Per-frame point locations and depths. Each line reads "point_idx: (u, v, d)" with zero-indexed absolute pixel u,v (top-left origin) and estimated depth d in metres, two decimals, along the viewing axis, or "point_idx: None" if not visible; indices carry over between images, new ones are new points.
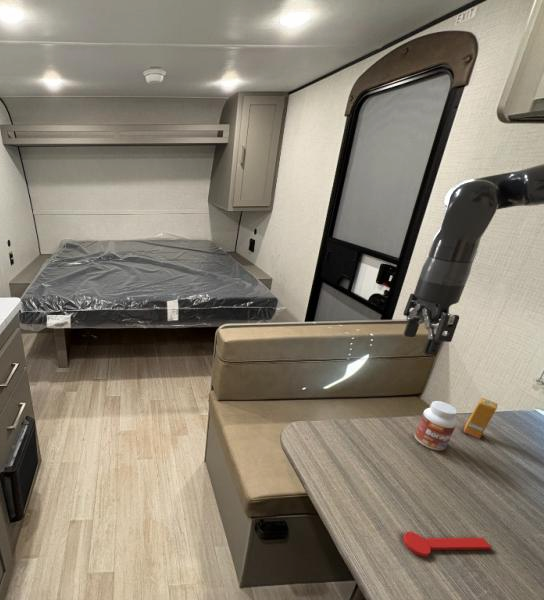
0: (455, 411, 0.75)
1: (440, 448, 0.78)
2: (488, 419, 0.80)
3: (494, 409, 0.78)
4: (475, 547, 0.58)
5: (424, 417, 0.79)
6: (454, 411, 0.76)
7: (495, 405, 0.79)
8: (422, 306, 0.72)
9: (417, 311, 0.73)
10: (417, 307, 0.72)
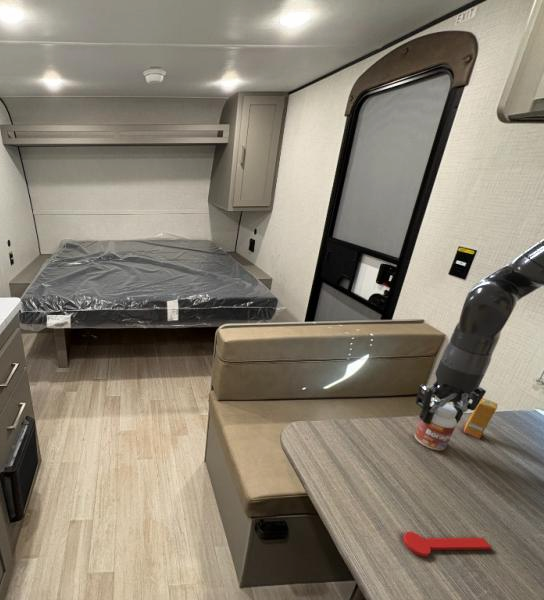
0: (455, 411, 0.75)
1: (440, 448, 0.78)
2: (488, 419, 0.80)
3: (494, 409, 0.78)
4: (475, 547, 0.58)
5: None
6: (454, 411, 0.76)
7: (495, 405, 0.79)
8: None
9: None
10: None
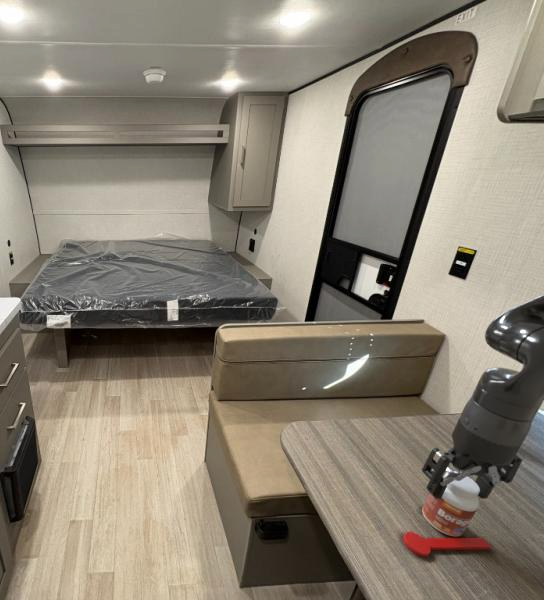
0: (477, 489, 0.57)
1: (457, 534, 0.59)
2: None
3: None
4: (475, 547, 0.58)
5: None
6: (476, 488, 0.57)
7: None
8: None
9: None
10: None
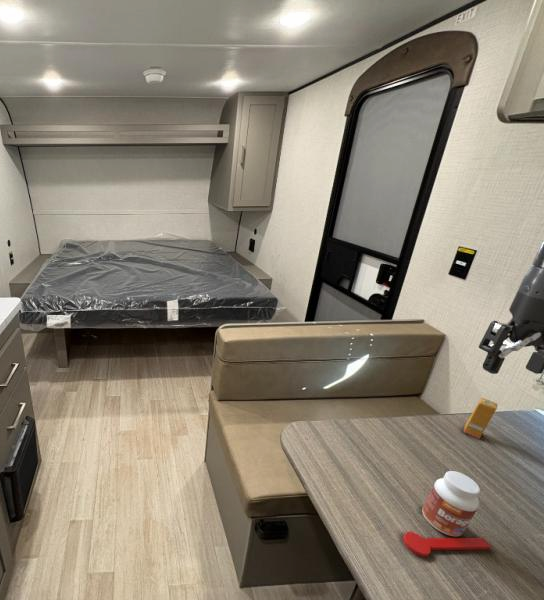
0: (477, 489, 0.57)
1: (457, 534, 0.59)
2: (488, 419, 0.80)
3: (494, 409, 0.78)
4: (475, 547, 0.58)
5: (435, 492, 0.60)
6: (476, 488, 0.57)
7: (495, 405, 0.79)
8: None
9: None
10: None
